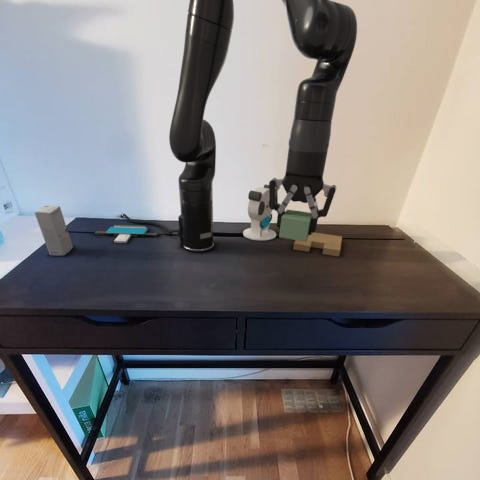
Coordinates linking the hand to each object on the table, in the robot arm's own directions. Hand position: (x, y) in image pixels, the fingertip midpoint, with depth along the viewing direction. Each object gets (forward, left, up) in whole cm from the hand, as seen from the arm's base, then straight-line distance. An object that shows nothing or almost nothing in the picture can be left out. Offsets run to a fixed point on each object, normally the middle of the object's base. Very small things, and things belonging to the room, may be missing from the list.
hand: (295, 231), depth 70 cm
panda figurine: (-15, +31, -14) cm, 38 cm away
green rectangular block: (0, +2, -1) cm, 2 cm away
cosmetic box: (-65, -4, -14) cm, 67 cm away
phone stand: (-55, +13, -14) cm, 59 cm away
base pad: (+5, +29, -14) cm, 33 cm away
